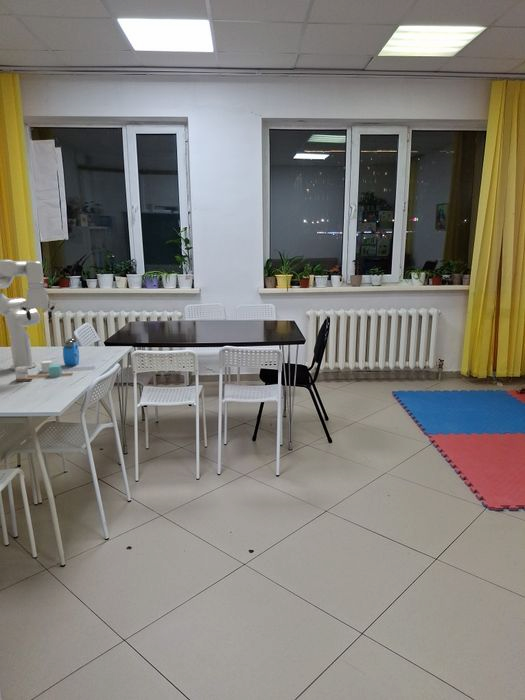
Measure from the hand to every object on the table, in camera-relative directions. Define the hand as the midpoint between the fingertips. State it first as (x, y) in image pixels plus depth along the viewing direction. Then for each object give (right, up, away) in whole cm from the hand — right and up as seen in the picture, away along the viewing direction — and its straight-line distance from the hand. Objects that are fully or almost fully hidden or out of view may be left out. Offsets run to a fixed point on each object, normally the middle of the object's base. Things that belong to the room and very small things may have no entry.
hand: (39, 319), depth 240 cm
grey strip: (+12, -27, +7) cm, 31 cm away
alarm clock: (+9, -25, +19) cm, 32 cm away
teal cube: (+10, -29, -4) cm, 31 cm away
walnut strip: (+5, -30, -5) cm, 31 cm away
